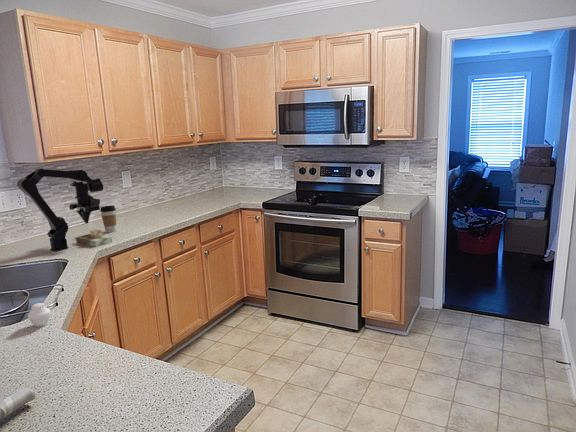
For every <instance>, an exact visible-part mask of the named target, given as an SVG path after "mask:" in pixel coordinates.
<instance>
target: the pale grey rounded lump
mask: <svg viewBox="0 0 576 432" xmlns="http://www.w3.org/2000/svg"><path fill="white" fill-rule="evenodd" d="M50 317H51V309H50V308H48V307H47V306H45V304H44V303H42V302H38V303H34V304H33V305H32V306H31V308H30V311H29V312H28V314H27V319H28V320H29V321H30V323H31V324H33V325H34V327H37V328H39V327H44V326H46V325H47V324H48V323H49V320H50Z"/></svg>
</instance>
